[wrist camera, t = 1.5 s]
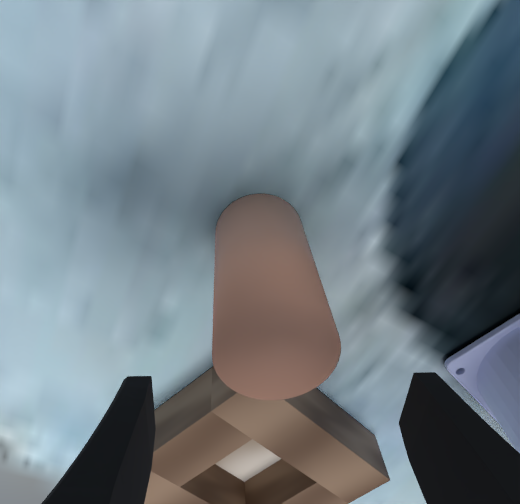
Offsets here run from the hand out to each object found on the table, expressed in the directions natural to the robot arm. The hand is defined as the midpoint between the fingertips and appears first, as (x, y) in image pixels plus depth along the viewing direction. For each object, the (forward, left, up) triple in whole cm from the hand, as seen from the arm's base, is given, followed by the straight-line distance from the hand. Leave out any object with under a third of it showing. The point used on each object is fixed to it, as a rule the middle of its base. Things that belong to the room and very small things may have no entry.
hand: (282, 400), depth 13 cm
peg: (0, 0, -10) cm, 10 cm away
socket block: (-10, +10, -10) cm, 17 cm away
